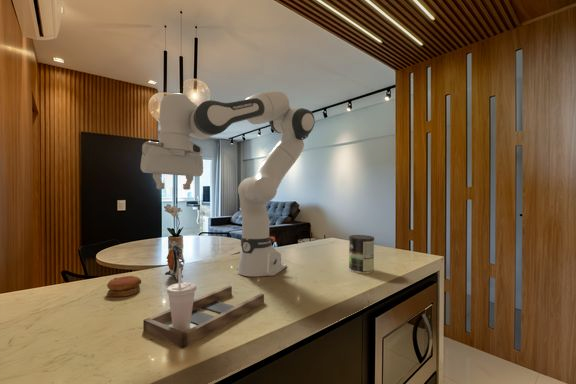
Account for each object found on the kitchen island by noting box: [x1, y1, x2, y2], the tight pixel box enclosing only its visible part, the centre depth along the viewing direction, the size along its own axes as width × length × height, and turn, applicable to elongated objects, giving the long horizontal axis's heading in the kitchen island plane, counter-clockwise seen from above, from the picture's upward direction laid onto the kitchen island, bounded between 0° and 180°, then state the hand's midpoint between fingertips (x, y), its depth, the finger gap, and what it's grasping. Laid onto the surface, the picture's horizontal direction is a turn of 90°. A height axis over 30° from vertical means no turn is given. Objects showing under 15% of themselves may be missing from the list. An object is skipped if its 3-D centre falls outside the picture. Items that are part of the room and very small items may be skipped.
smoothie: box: [166, 268, 197, 332], centre depth 64 cm, size 6×6×14 cm
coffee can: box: [348, 234, 375, 274], centre depth 115 cm, size 10×10×14 cm
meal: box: [164, 240, 185, 284], centre depth 103 cm, size 15×4×13 cm, turn 36°
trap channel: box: [142, 285, 265, 349], centre depth 71 cm, size 28×14×2 cm, turn 149°
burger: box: [106, 275, 142, 298], centre depth 88 cm, size 10×9×5 cm
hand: (174, 189), depth 86 cm, fingers open, 8 cm apart
